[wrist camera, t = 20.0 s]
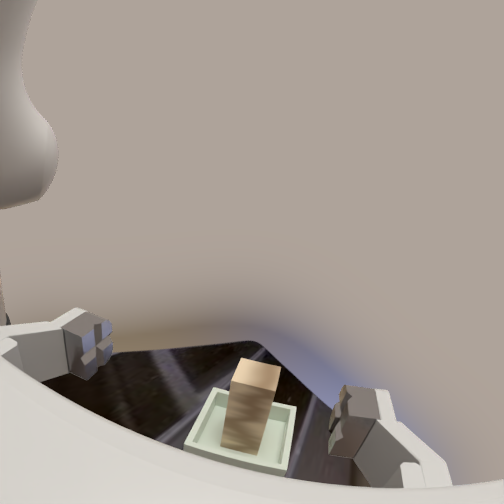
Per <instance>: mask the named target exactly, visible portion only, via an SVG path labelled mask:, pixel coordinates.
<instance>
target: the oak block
mask: <svg viewBox="0 0 504 504" xmlns="http://www.w3.org/2000/svg"><path fill="white" fill-rule="evenodd" d="M280 369H281V367H278V366H273V365H269V364H265V363H260V362H256V361H252V360H248V359H244V358H241V360H240V362H239V364H238V367H237V369H236V371H235V373H234V376H233V378H232V380H231V385H230V391H229V397H228V403H227V409H226V415H225V421H224V427H223V433H222V438H221V444H220V446H221V447H224V448H228V449H232V450H235V451H239V452H243V453H248V454H252V455H256V456H257V454H258V451H259V447H260V444H261V441H262V437H263V434H264V431H265V427H266V424H267V420H268V417H269V413H270V410H271V406H272V402H273V399H274V395H275V391H276V387H277V383H278V378H279V374H280Z"/></svg>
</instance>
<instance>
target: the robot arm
mask: <svg viewBox="0 0 504 504" xmlns="http://www.w3.org/2000/svg"><path fill="white" fill-rule="evenodd" d="M36 3H37V0H0V209H7V208H11V207H15V206H20V205H23V204H27V203H30V202H34V201H37V200H39V199H40V198H41V197H42V196H43V195H44V193H45V192H46V191H47V189H48V188H49V186H50V184H51V183H52V181H53V178H54V176H55V173H56V169H57V164H58V144H57V140H56V137H55V134H54V132H53V129H52V128H51V126H50V125H49V123H48V122H47V121H46V120H45V119H44V118H43V117H42V116H41V115H40V113H39V112H38V111H37V110H36V109H35V107H34V105H33V104H32V102H31V100H30V98H29V96H28V94H27V91H26V88H25V85H24V81H23V75H22V52H23V47H24V42H25V37H26V34H27V30H28V26H29V23H30V20H31V16H32V14H33V11H34V8H35V5H36ZM111 332H112V324H111V322H110V321H109V320H107V319H105V318H102V317H100V316H98V315H95V314H93V313H90V312H88V311H86V310H83V309H81V308H74V309H72V310H70V311H69V312H67V313H65V314H63V315H62V316H60V317H58V318H57V319H55V320H53V321H52V322H48V321H45V322H36V323H27V324H17V325H11V323H10V320H9V317H8V315H7V314H6V312H5V306H4V299H3V292H2V283H1V274H0V504H504V479H501V480H495V481H489V482H482V483H475V484H467V485H457V486H453V485H452V481H451V478H450V474H449V471H448V468H447V465H446V462H445V461H444V460H443V459H442V458H441V457H440V456H438V455H437V454H436V453H435V452H434V451H433V450H432V449H431V448H429V447H428V446H427V445H426V444H425V443H424V442H423V441H422V440H420V439H419V438H418V437H417V436H416V435H415V434H414V433H412V432H411V431H410V430H409V429H408V428H407V427H406V426H405V425H403V424H402V423H401V422H397V421H396V417H395V413H394V409H393V405H392V402H391V398H390V394H389V392H388V391H387V390H382V389H370V388H363V387H356V386H349V385H344V386H343V387H342V389H341V391H340V394H339V399H340V402H338V403H336V404H335V406H334V408H333V411H332V414H331V417H330V422H329V431H330V432H331V434H332V435H331V437H330V439H329V455H333V456H340V457H347V458H354V459H353V460H354V461H355V463H356V464H357V466H358V467H359V469H360V470H361V472H362V473H363V475H364V476H365V478H366V479H367V480H368V482H369V483H370V485H371V486H372V487H356V486H344V485H334V484H325V483H317V482H310V481H303V480H296V479H291V478H285V477H280V476H275V475H270V474H265V473H260V472H256V471H252V470H248V469H243V468H240V467H236V466H232V465H228V464H225V463H221V462H217V461H214V460H211V459H207V458H204V457H201V456H198V455H195V454H192V453H189V452H186V451H183V450H180V449H177V448H174V447H171V446H169V445H166V444H163V443H161V442H158V441H155V440H153V439H150V438H148V437H145V436H143V435H141V434H138V433H136V432H133V431H131V430H129V429H127V428H124V427H122V426H120V425H118V424H115V423H113V422H111V421H109V420H107V419H105V418H103V417H101V416H99V415H97V414H95V413H93V412H91V411H89V410H87V409H85V408H83V407H81V406H79V405H78V404H76V403H74V402H72V401H70V400H68V399H67V398H65V397H63V396H61V395H60V394H58V393H56V392H55V391H53V390H51V389H50V388H48V387H46V386H45V385H43V384H41V383H40V382H42V381H45V380H48V379H51V378H54V377H57V376H60V375H64V374H67V373H69V372H70V373H72V374H75V375H77V376H79V377H81V378H83V379H85V380H88V379H89V378H90V377H91V376H93V375H94V374H95V373H96V372H97V366H101V365H104V364H105V363H106V362H108V361H109V359H110V356H111V354H112V350H113V342H112V340H111V338H110V336H109V335H110V333H111Z"/></svg>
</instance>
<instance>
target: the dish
mask: <svg viewBox="0 0 504 504" xmlns="http://www.w3.org/2000/svg"><path fill="white" fill-rule="evenodd" d="M228 397H229V391H226V390H222V389H218V388H215V387H214V388H213V389H212V391H211V393H210V395H209V397H208V399H207V401H206V403H205V405H204V407H203V409H202V411H201V412H200V414H199V416H198V418H197V420H196V422H195V424H194V426H193V428H192V429H191V431H190V433H189V435H188V437H187V439H186V441H185V443H184V451H186V452H189V453H192V454H195V455H198V456H201V457H204V458H207V459H211V460H214V461H217V462H221V463H225V464H228V465H232V466H236V467H240V468H243V469H248V470H252V471H256V472H260V473H265V474H270V475H275V476H280V477H284V476H285V473H286V471H287V467H288V460H289V454H290V448H291V441H292V435H293V428H294V421H295V414H296V407H294V406H289V405H284V404H280V403H275V402H272V406H271V410H270V413H269V417H268V420H267V424H266V427H265V431H264V434H263V437H262V441H261V444H260V447H259V451H258V454H257V456H256V455H252V454H248V453H243V452H239V451H235V450H232V449H228V448H224V447H221V446H220V444H221V438H222V433H223V427H224V421H225V415H226V409H227V403H228Z"/></svg>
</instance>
